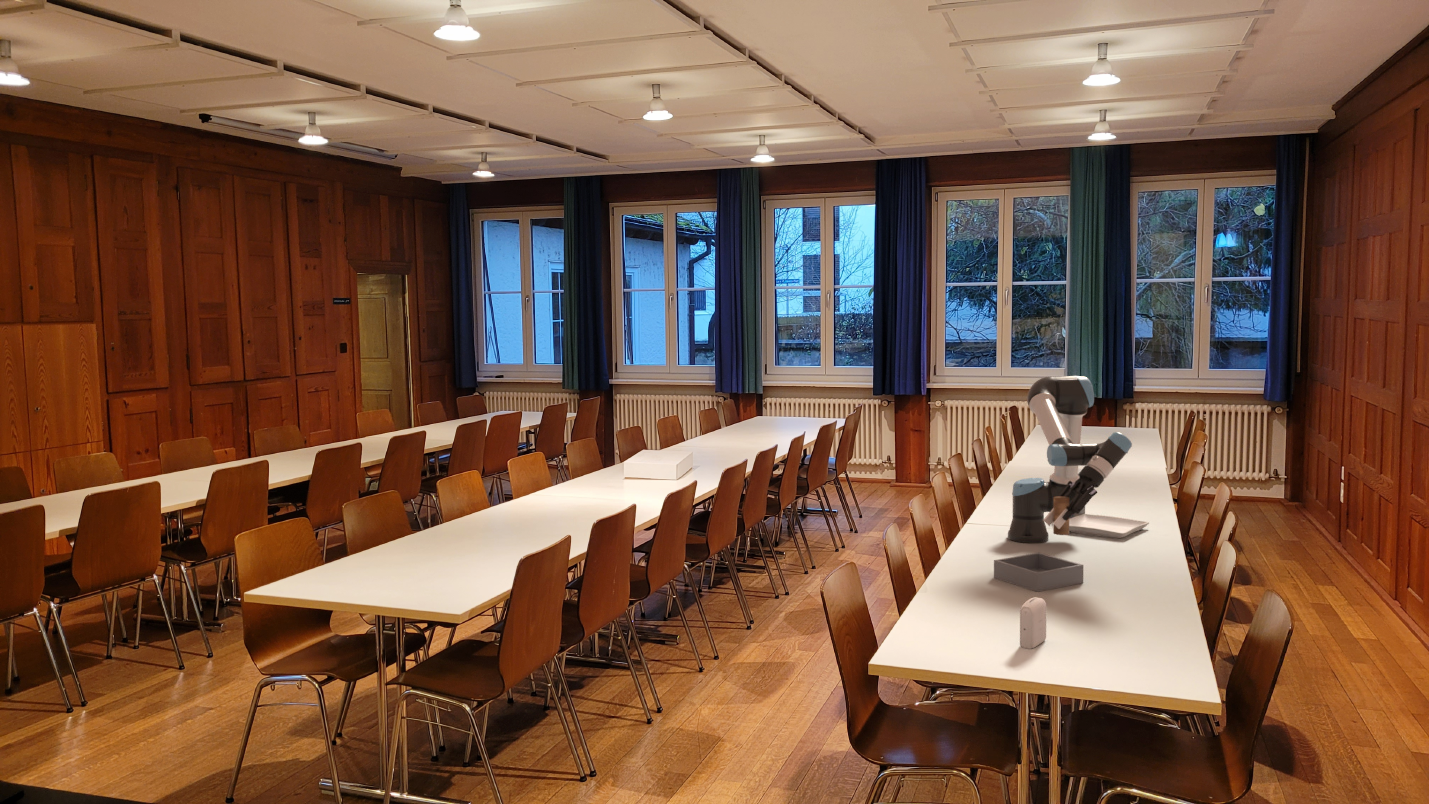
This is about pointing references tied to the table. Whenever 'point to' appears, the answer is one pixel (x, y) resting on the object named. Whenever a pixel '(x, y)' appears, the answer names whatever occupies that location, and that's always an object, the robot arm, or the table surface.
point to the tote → (1038, 571)
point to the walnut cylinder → (1059, 507)
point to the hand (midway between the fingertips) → (1051, 524)
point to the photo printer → (1032, 623)
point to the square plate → (1104, 525)
